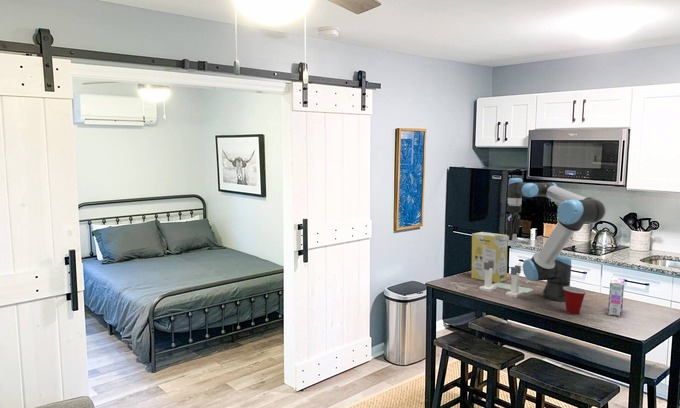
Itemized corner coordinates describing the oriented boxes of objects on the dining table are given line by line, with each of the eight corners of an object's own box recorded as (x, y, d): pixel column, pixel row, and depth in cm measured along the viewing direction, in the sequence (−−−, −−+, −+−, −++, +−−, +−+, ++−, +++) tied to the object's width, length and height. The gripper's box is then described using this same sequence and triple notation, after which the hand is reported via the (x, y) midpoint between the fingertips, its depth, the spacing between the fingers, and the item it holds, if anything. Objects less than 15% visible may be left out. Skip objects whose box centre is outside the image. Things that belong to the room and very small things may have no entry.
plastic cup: (589, 315, 244) (591, 291, 243) (567, 315, 244) (568, 291, 243) (579, 308, 255) (580, 285, 253) (557, 308, 255) (559, 285, 254)
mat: (534, 290, 288) (534, 289, 288) (526, 293, 281) (526, 292, 281) (498, 283, 303) (498, 282, 303) (490, 286, 296) (490, 285, 296)
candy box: (621, 317, 243) (623, 284, 241) (607, 315, 246) (609, 282, 244) (622, 309, 254) (625, 278, 252) (609, 307, 257) (611, 276, 256)
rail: (530, 243, 284) (530, 238, 283) (528, 244, 282) (528, 239, 281) (497, 239, 298) (497, 234, 297) (495, 240, 295) (495, 235, 295)
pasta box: (506, 280, 308) (507, 234, 305) (497, 282, 301) (498, 236, 299) (481, 275, 321) (481, 232, 319) (471, 277, 315) (472, 233, 312)
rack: (523, 294, 280) (525, 266, 278) (515, 297, 273) (517, 269, 271) (487, 286, 295) (488, 259, 293) (478, 289, 288) (480, 262, 286)
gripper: (514, 203, 296) (512, 242, 298) (501, 205, 284) (499, 246, 287) (526, 204, 290) (524, 244, 293) (514, 206, 279) (512, 248, 281)
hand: (512, 245), depth 290 cm, fingers closed on rail, 3 cm apart
